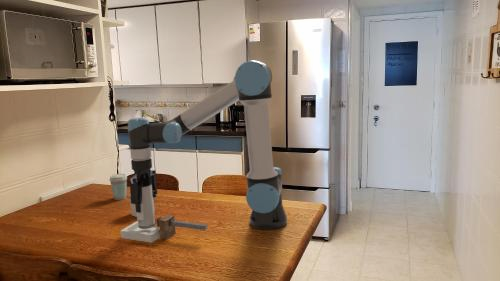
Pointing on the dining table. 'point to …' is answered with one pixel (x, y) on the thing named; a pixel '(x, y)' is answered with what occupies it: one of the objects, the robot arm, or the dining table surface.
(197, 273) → the dining table surface
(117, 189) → the coffee cup
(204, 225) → the pin
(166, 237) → the pin mount
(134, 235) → the tray
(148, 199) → the travel mug
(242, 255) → the dining table surface
